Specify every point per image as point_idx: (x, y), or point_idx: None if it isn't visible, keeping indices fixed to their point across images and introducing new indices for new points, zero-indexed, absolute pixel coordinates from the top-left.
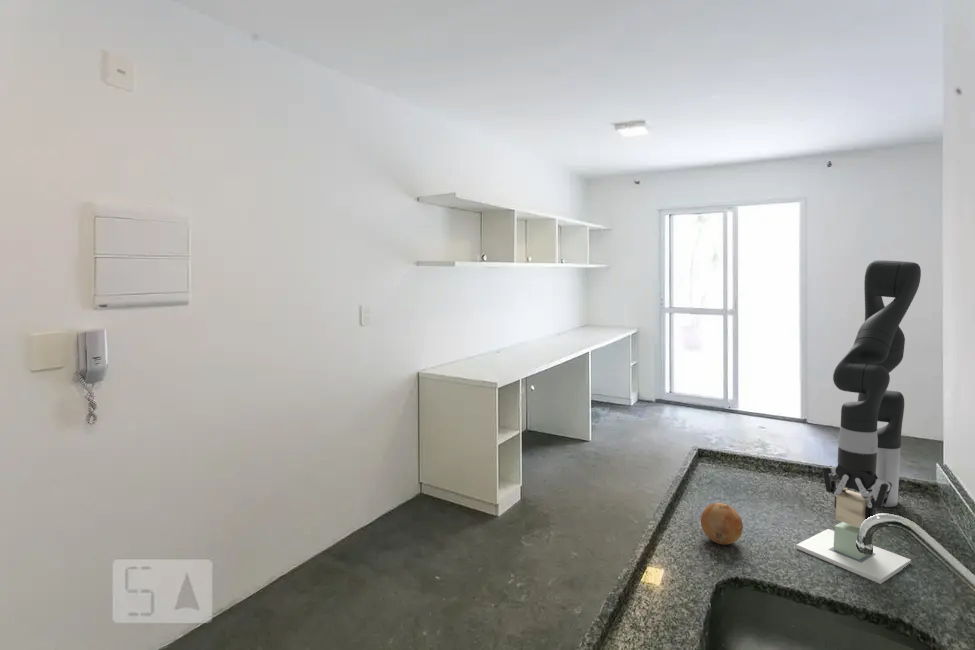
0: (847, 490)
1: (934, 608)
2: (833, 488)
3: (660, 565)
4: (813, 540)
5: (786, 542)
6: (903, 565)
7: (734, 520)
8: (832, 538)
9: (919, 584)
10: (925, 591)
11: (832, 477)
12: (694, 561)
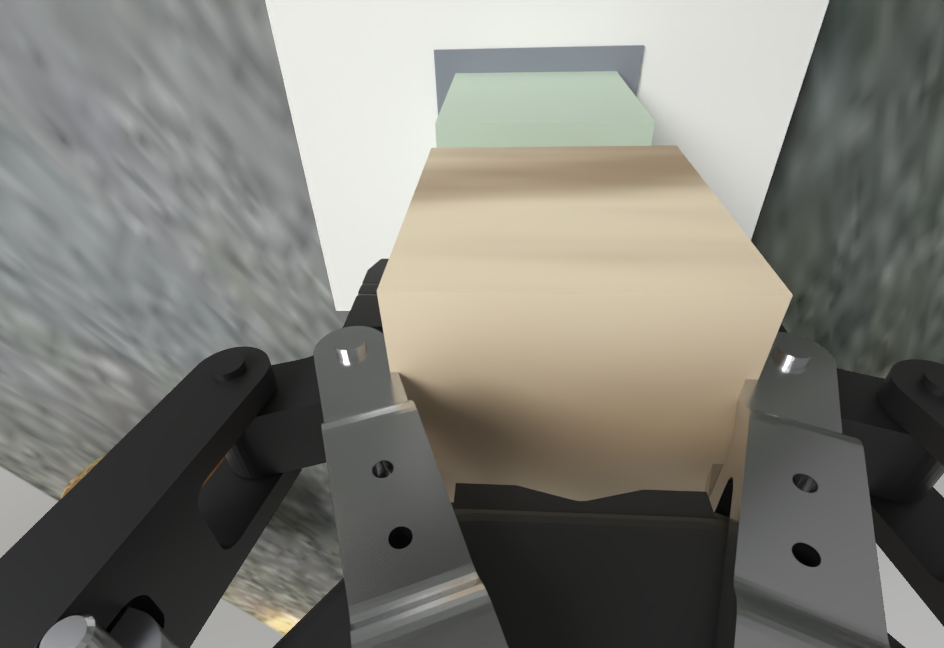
0: (387, 318)
1: (931, 314)
2: (290, 460)
3: (269, 609)
4: (339, 201)
5: (278, 280)
6: (813, 32)
7: None
8: (369, 65)
9: (887, 155)
10: (911, 204)
11: (160, 578)
12: (281, 564)
